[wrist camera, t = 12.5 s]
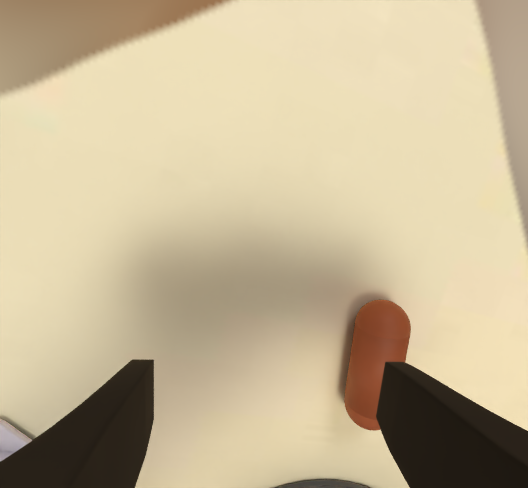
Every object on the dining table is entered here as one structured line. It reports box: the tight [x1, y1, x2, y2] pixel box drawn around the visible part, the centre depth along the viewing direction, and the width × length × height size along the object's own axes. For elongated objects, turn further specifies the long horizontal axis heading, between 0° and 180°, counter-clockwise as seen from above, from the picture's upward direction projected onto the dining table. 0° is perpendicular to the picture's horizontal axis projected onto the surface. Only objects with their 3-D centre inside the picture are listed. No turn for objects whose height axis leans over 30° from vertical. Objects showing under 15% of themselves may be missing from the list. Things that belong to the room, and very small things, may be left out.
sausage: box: [344, 300, 411, 430], centre depth 20 cm, size 8×3×3 cm, turn 176°
